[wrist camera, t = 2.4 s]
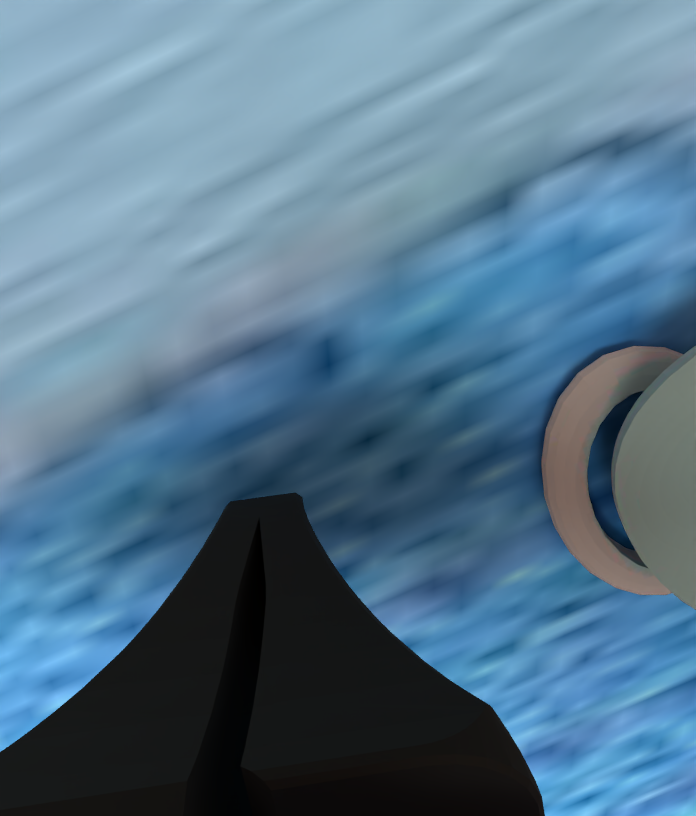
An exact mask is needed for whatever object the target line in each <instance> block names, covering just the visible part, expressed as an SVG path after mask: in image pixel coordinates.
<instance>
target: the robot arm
mask: <svg viewBox="0 0 696 816" xmlns="http://www.w3.org/2000/svg"><path fill="white" fill-rule="evenodd" d="M0 816H545V814H544V808H543V801H542V796H541V794H540V791H539V789H538V786H537V784H536V781H535V779H534V777H533V775H532V773H531V771H530V769H529V767H528V765H527V763H526V761H525V759H524V758H523V756H522V754H521V752H520V750H519V748H518V747H517V745H516V743H515V742H514V740H513V739H512V737H511V735H510V734H509V732H508V730H507V729H506V727H505V726H504V724H503V723H502V721H501V720H500V718H499V717H498V715H497V714H496V713H495V711H494V710H493V708H492V707H491V706H490V705H488V704H487V703H485V702H484V701H482V700H480V699H479V698H477V697H475V696H474V695H472V694H471V693H469V692H467V691H466V690H464V689H463V688H461V687H459V686H458V685H456V684H455V683H453V682H452V681H450V680H449V679H448V678H446V677H445V676H443V675H442V674H441V673H439V672H438V671H437V670H435V669H434V668H433V667H431V666H430V665H429V664H427V663H426V662H425V661H423V660H422V659H421V658H420V657H419V656H418V655H417V654H415V653H414V652H413V651H412V650H411V649H410V648H408V647H407V646H406V645H405V644H404V643H403V642H402V641H400V640H399V639H398V638H397V637H396V636H395V635H393V634H392V633H391V632H390V631H389V630H388V629H387V628H386V627H385V626H384V625H383V624H382V623H381V622H380V621H379V620H378V619H377V618H376V617H375V616H374V615H373V614H372V612H371V611H370V610H369V609H368V608H367V607H366V606H365V605H364V604H363V602H362V601H361V600H360V599H359V598H358V597H357V595H356V594H355V593H354V592H353V590H352V589H351V588H350V587H349V585H348V584H347V583H346V581H345V580H344V579H343V577H342V576H341V575H340V573H339V572H338V570H337V569H336V568H335V566H334V565H333V563H332V562H331V560H330V559H329V557H328V555H327V554H326V552H325V550H324V549H323V547H322V545H321V544H320V542H319V540H318V539H317V537H316V535H315V533H314V531H313V529H312V527H311V525H310V522H309V520H308V518H307V515H306V513H305V510H304V506H303V499H302V497H301V496H300V495H298V494H297V493H289V494H282V495H274V496H267V497H260V498H252V499H245V500H238V501H230V502H229V504H228V505H227V506H226V507H225V509H224V511H223V513H222V514H221V516H220V518H219V520H218V522H217V523H216V525H215V527H214V529H213V530H212V532H211V534H210V535H209V537H208V539H207V540H206V542H205V544H204V545H203V547H202V549H201V550H200V552H199V553H198V555H197V556H196V558H195V559H194V561H193V562H192V564H191V565H190V567H189V568H188V570H187V571H186V573H185V574H184V576H183V577H182V579H181V580H180V581H179V583H178V584H177V585H176V587H175V588H174V589H173V591H172V592H171V593H170V595H169V596H168V597H167V599H166V600H165V601H164V603H163V604H162V606H161V607H160V608H159V609H158V611H157V612H156V613H155V614H154V615H153V617H152V618H151V619H150V620H149V622H148V623H147V624H146V625H145V626H144V627H143V629H142V630H141V631H140V632H139V633H138V634H137V635H136V636H135V637H134V639H133V640H132V641H131V642H130V643H129V644H128V645H127V646H126V647H125V648H124V649H123V650H122V651H121V652H120V653H119V654H118V655H117V656H116V657H115V658H114V659H113V660H112V661H111V662H110V663H109V664H108V665H107V666H106V667H105V668H103V669H102V670H101V671H100V672H99V673H98V674H97V675H96V676H95V677H94V678H93V679H92V680H91V681H90V682H89V683H88V684H87V685H85V686H84V687H83V688H82V689H81V690H80V691H79V692H78V693H76V694H75V695H74V696H73V697H72V698H70V699H69V700H68V701H67V702H66V703H64V704H63V705H62V706H61V707H60V708H58V709H57V710H56V711H55V712H54V713H52V714H51V715H50V716H48V717H47V718H46V719H45V720H43V721H42V722H41V723H39V724H38V725H37V726H36V727H34V728H33V729H32V730H30V731H29V732H28V733H26V734H25V735H24V736H22V737H21V738H20V739H18V740H17V741H16V742H14V743H13V744H11V745H10V746H9V747H7V748H6V749H4V750H3V751H1V752H0Z"/></svg>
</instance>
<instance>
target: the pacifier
mask: <svg viewBox="0 0 696 816" xmlns="http://www.w3.org/2000/svg"><path fill="white" fill-rule="evenodd" d="M644 390H645V391H644ZM641 391H644V392H643V393H642V394H641V396H640V397H639V398H638V399H637V401H636V402H635V404H634V405H633V407H632V408H631V410H630V412H629V413H628V415H627V417H626V419H625V421H624V423H623V425H622V427H621V429H620V432H619V434H618V437H617V440H616V443H615V447H614V452H613V458H612V465H611V479H612V492H613V497H614V502H615V505H616V509H617V512H618V515H619V517H620V520H621V522H622V525H623V527H624V529H625V531H626V533H627V535H628V537H629V539H630V541H631V543H632V545H633V547H634V548H635V550H636V551H634V550H631V549H628V548H625V547H624V546H622V545H620V544H619V543H617V542H616V541H614V540H613V539H611V538H610V537H609V536H608V535H607V534H606V533H605V532H604V531H603V530H602V528H601V527H600V525H599V523H598V521H597V519H596V518H595V515H594V511H593V508H592V504H591V501H590V498H589V493H588V479H587V468H588V462H589V455H590V449H591V445H592V443H593V440H594V438H595V436H596V433H597V431H598V428H599V426H600V424H601V423H602V422H603V420H604V419H605V418H606V416H607V415H608V414H609V413H610V411H611V410H612V409H613V408H614V406H616V405H617V404H619V403H620V402H621V401H623V400H624V399H626V398H627V397H629V396H630V395H632V394H634V393H637V392H641ZM541 465H542V476H543V487H544V497H545V500H546V503H547V506H548V509H549V512H550V515H551V518H552V521H553V524H554V527H555V529H556V530H557V532H558V533H559V535H560V537H561V538H562V540H563V542H564V543H565V545H566V547H567V548H568V550H569V552H570V553H571V554H572V555H573V556H574V557H575V558H576V559H577V560H578V561H579V562H580V563H581V564H582V565H583V566H584V567H585V568H586V569H587V570H588V571H589V572H590V573H592V574H593V575H595V576H597V577H598V578H600V579H602V580H603V581H605V582H607V583H608V584H610V585H612V586H614V587H615V588H618V589H621V590H625V591H629V592H632V593H636V594H639V595H667V594H670V593H673V594H674V595H675V596H677V597H678V598H679V599H680V600H681V601H683V602H684V603H686V604H687V605H689V606H691V607H692V608H694V609H695V610H696V346H694V347H693V348H692V349H690V350H689V351H688V352H686V353H685V354H681V353H678V352H676V351H673V350H671V349H668V348H666V347H648V346H632V347H628V348H625V349H622V350H618V351H615V352H612V353H608V354H605V355H602V356H601V357H599V358H598V359H597V360H595V361H594V362H592V363H591V364H590V365H588V366H587V367H585V368H584V369H583V370H581V371H580V372H578V373H577V374H576V376H575V377H574V378H573V380H572V381H571V382H570V384H569V385H568V386H567V387H566V389H565V390H564V391H563V393H562V394H561V395H560V397H559V398H558V400H557V402H556V405H555V407H554V410H553V412H552V415H551V417H550V420H549V422H548V425H547V427H546V432H545V439H544V446H543V453H542V460H541Z"/></svg>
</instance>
